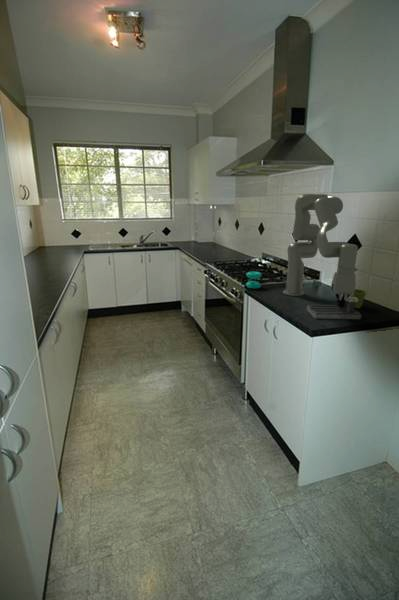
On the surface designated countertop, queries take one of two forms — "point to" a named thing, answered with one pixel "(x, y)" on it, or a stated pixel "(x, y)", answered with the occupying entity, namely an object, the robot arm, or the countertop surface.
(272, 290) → the countertop surface
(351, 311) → the fader knob
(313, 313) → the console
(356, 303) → the plant pot
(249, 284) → the teal spool
